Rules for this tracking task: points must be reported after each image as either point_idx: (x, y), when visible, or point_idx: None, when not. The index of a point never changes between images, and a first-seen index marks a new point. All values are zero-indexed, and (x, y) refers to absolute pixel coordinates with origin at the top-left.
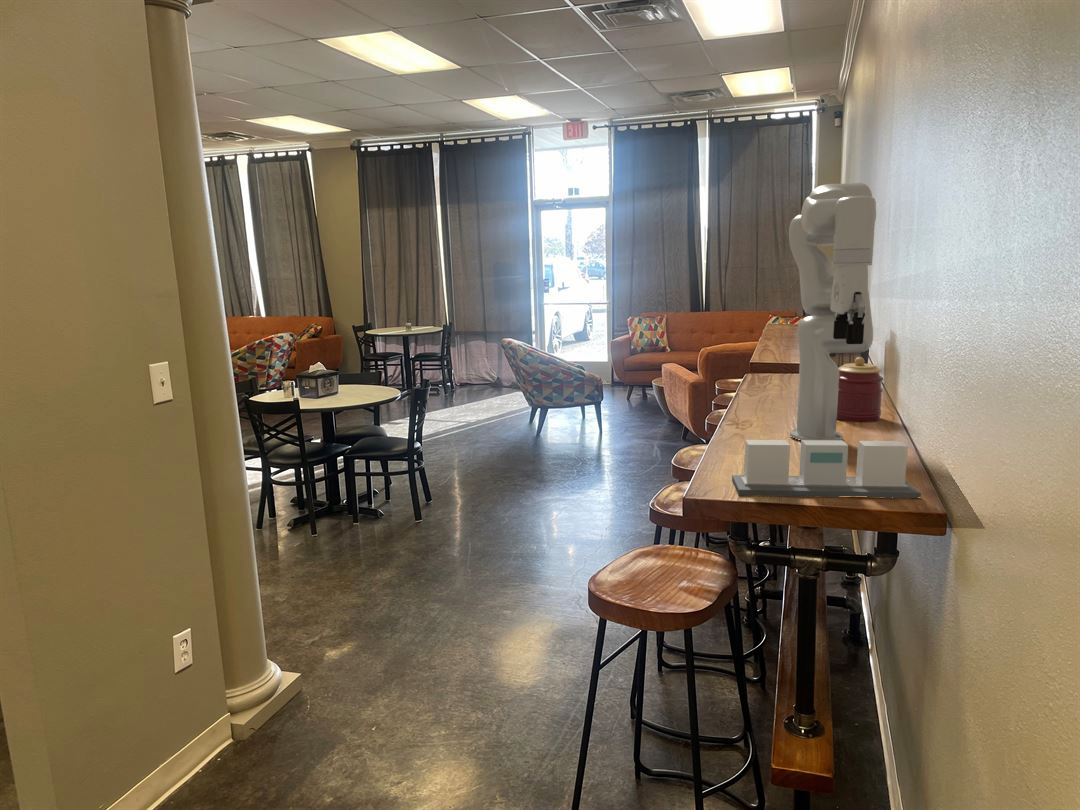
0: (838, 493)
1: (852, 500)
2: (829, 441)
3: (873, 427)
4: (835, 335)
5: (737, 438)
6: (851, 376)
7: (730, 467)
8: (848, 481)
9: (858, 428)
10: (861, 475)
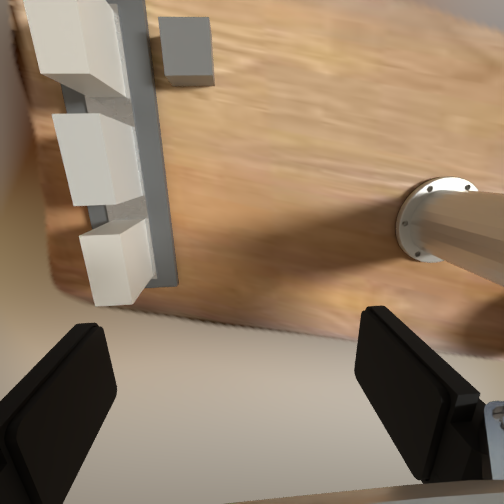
0: None
1: None
2: (100, 175)
3: (484, 320)
4: (371, 322)
5: (458, 64)
6: None
7: (237, 8)
8: (129, 205)
9: (483, 299)
10: (111, 222)
